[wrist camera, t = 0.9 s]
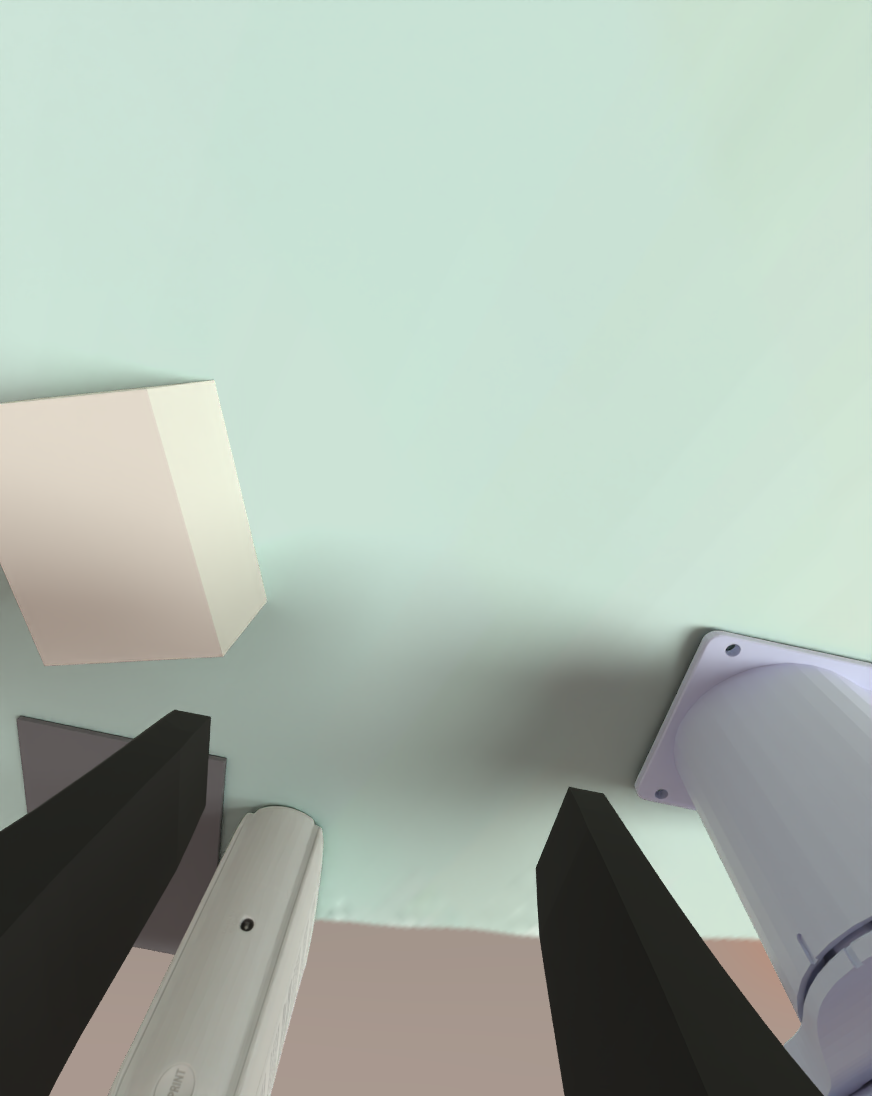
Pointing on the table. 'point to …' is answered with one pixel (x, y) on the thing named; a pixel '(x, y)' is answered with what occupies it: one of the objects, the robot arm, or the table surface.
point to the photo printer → (234, 968)
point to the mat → (73, 752)
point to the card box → (126, 525)
